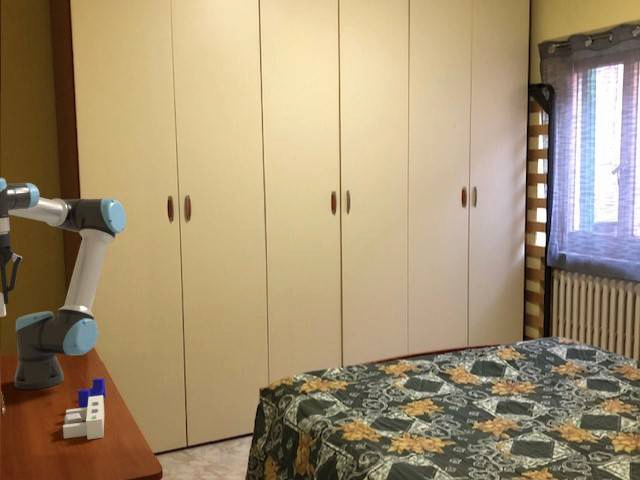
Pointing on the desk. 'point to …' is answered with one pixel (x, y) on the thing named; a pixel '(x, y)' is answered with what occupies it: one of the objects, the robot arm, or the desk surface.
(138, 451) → the desk surface
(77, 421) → the usb wall charger
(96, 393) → the cable clip
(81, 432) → the dock
